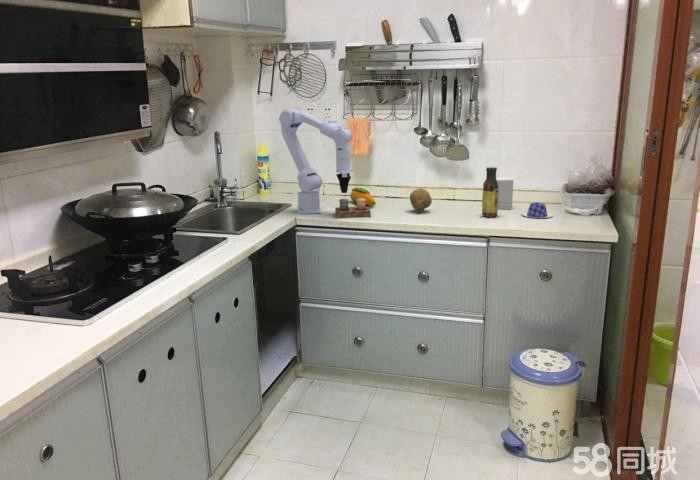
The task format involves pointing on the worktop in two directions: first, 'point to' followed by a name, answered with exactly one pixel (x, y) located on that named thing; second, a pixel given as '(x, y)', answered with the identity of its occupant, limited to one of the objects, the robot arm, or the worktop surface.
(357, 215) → the socket board
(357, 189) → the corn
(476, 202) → the worktop surface
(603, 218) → the worktop surface
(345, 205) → the grey plug
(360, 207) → the terracotta plug
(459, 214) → the worktop surface
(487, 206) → the sauce bottle
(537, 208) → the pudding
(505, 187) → the supplement box
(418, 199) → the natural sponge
